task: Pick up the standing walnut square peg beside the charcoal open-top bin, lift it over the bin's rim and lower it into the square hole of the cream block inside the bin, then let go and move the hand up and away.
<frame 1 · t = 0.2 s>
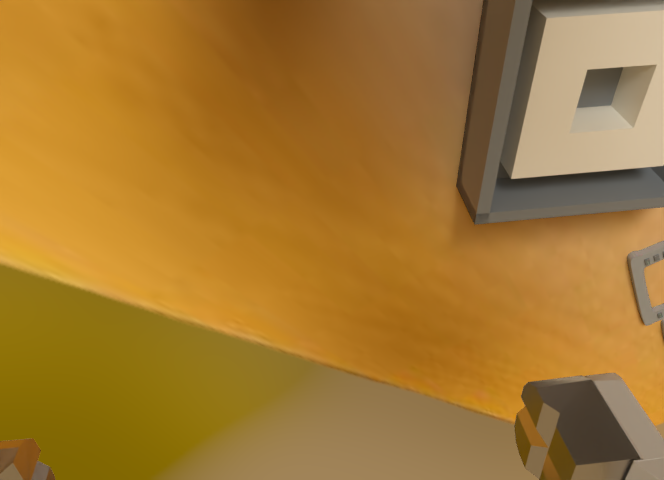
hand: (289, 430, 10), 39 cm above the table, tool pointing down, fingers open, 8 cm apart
open box: (584, 73, 50), on the table
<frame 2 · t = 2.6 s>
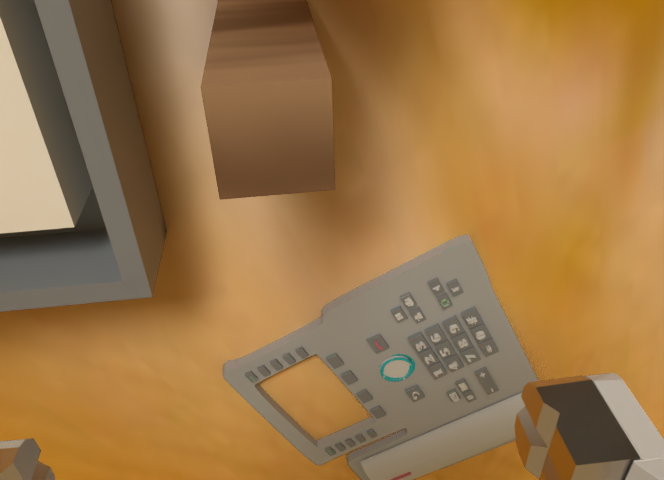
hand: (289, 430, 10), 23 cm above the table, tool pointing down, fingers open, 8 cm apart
office telephone: (399, 383, 46), on the table
peg: (265, 36, 28), on the table
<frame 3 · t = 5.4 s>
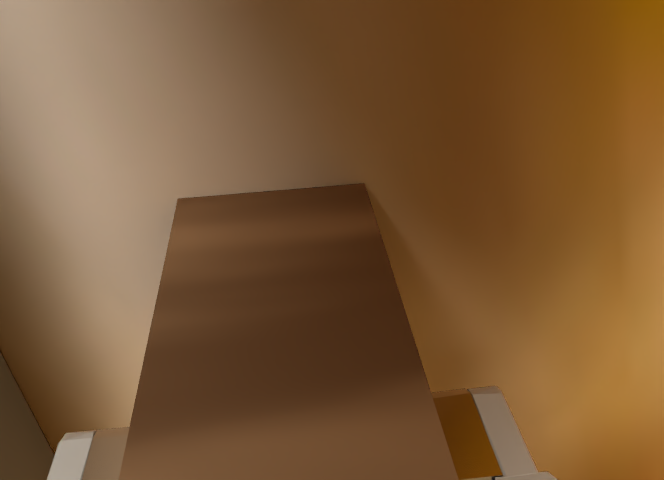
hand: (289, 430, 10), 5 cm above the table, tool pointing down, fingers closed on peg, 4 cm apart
peg: (280, 264, 13), on the table, touching gripper
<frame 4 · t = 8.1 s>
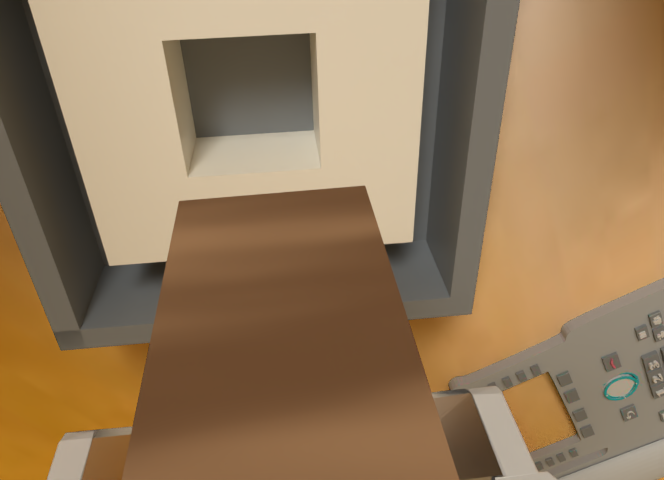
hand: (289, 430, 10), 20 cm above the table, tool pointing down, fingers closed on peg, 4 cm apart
office telephone: (606, 401, 45), on the table
open box: (249, 69, 27), on the table
peg: (280, 266, 13), point 16 cm above the table, touching gripper
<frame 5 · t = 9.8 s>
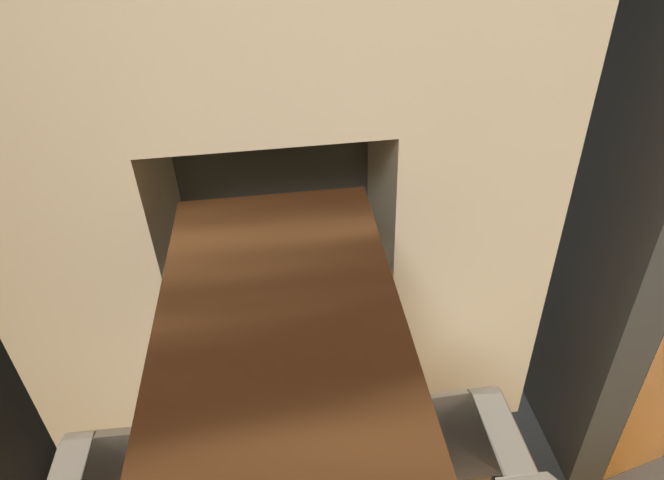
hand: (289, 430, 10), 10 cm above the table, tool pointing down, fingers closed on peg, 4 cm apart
open box: (272, 159, 18), on the table
peg: (279, 267, 13), point 5 cm above the table, touching gripper
when the fingers open (7 cm above the table, at t = 11.0 s): peg drops 1 cm, resting on open box.
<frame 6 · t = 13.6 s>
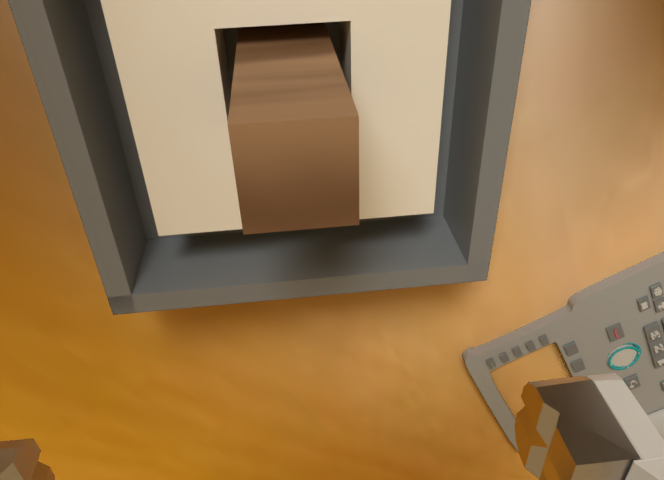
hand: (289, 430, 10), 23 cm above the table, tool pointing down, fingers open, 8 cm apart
office telephone: (610, 372, 47), on the table
open box: (283, 56, 29), on the table
peg: (284, 63, 28), point 1 cm above the table, touching open box
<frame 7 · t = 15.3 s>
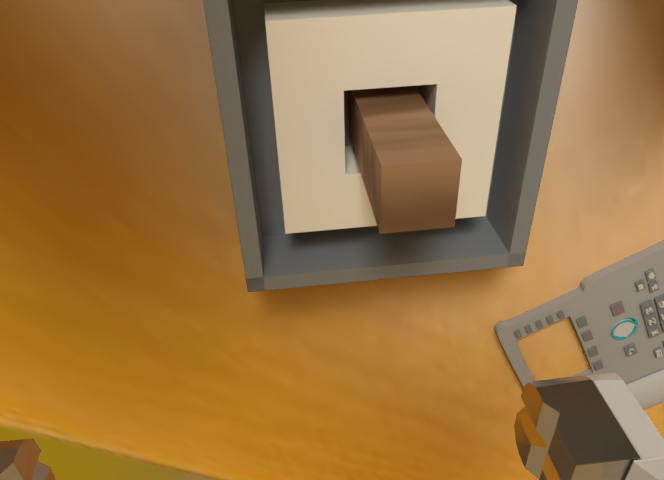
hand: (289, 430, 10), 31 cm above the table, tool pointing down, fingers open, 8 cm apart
office telephone: (613, 342, 58), on the table
open box: (375, 100, 39), on the table
peg: (377, 106, 39), point 1 cm above the table, touching open box
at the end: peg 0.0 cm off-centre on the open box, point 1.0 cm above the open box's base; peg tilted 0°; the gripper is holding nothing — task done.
